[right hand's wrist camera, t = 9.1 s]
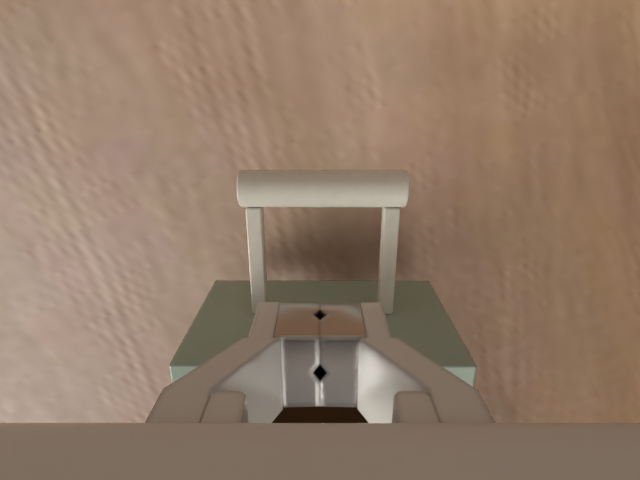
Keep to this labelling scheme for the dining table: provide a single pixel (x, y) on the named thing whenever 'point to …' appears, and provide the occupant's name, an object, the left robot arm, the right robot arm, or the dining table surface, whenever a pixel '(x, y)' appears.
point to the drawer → (395, 296)
